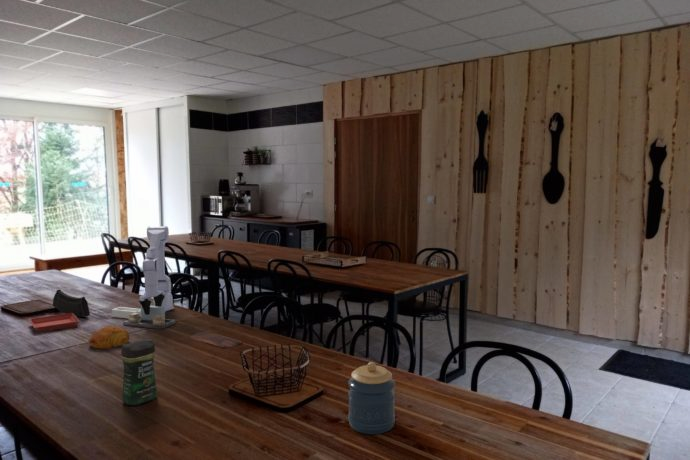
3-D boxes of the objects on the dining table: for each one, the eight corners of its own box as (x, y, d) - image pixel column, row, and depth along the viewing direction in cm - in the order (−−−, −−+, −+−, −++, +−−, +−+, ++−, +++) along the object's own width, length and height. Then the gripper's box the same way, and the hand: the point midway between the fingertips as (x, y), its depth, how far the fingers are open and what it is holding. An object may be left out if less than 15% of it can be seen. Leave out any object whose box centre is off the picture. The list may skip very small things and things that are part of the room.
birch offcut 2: (157, 325, 231) (157, 320, 231) (165, 326, 230) (164, 321, 230) (152, 327, 228) (152, 322, 228) (160, 328, 227) (159, 323, 226)
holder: (120, 313, 251) (119, 306, 251) (146, 316, 246) (145, 309, 246) (111, 316, 246) (110, 309, 245) (137, 319, 241) (137, 312, 240)
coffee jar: (132, 409, 147) (129, 348, 145) (118, 401, 152) (115, 343, 150) (161, 397, 154) (159, 340, 152) (148, 391, 159) (145, 335, 157)
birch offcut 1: (157, 320, 231) (157, 315, 230) (164, 321, 230) (163, 315, 230) (153, 322, 227) (152, 317, 227) (159, 323, 227) (159, 317, 226)
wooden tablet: (185, 334, 214) (204, 326, 222) (186, 339, 215) (205, 331, 222) (224, 347, 198) (244, 338, 206) (225, 352, 198) (244, 343, 206)
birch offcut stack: (133, 322, 236) (133, 312, 235) (140, 323, 234) (140, 313, 234) (128, 324, 232) (127, 314, 232) (135, 325, 231) (134, 315, 230)
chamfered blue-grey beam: (144, 321, 238) (143, 304, 237) (165, 323, 234) (164, 306, 234) (141, 322, 236) (140, 306, 235) (162, 324, 232) (161, 308, 232)
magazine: (92, 300, 242) (61, 276, 257) (85, 302, 239) (54, 277, 255) (88, 331, 247) (58, 306, 262) (81, 333, 244) (52, 307, 259)
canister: (341, 430, 134) (341, 367, 132) (357, 409, 146) (357, 351, 144) (387, 439, 129) (388, 374, 127) (400, 417, 141) (400, 357, 140)
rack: (138, 319, 241) (138, 316, 241) (175, 323, 234) (175, 320, 234) (123, 324, 232) (123, 321, 232) (161, 329, 225) (161, 325, 225)
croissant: (116, 341, 216) (114, 322, 216) (136, 342, 207) (134, 323, 207) (82, 349, 204) (80, 330, 204) (102, 351, 195) (100, 331, 195)
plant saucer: (72, 318, 244) (72, 312, 243) (80, 327, 230) (79, 320, 229) (29, 325, 233) (29, 318, 232) (34, 335, 218) (33, 327, 218)
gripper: (155, 280, 242) (156, 308, 243) (133, 286, 228) (134, 315, 229) (167, 281, 239) (168, 309, 241) (146, 287, 226) (147, 316, 227)
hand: (152, 312), depth 235 cm, fingers open, 7 cm apart
